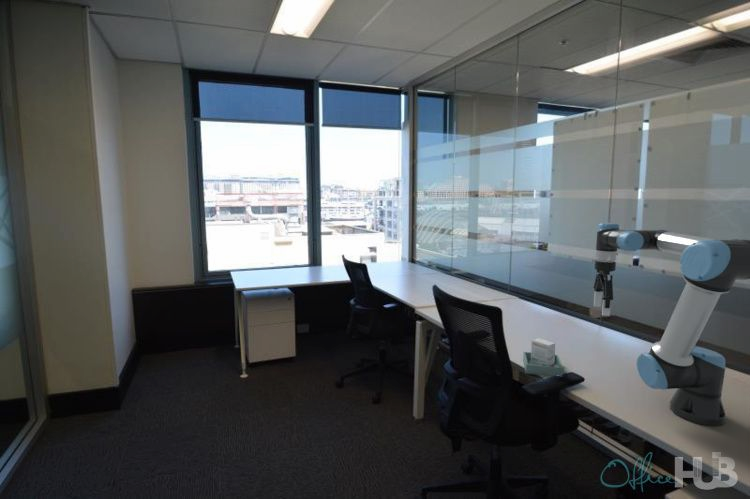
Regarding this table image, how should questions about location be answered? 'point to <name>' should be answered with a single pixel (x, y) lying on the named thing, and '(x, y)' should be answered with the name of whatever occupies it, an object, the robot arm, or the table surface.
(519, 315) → the table surface
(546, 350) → the ink box
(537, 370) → the bin
